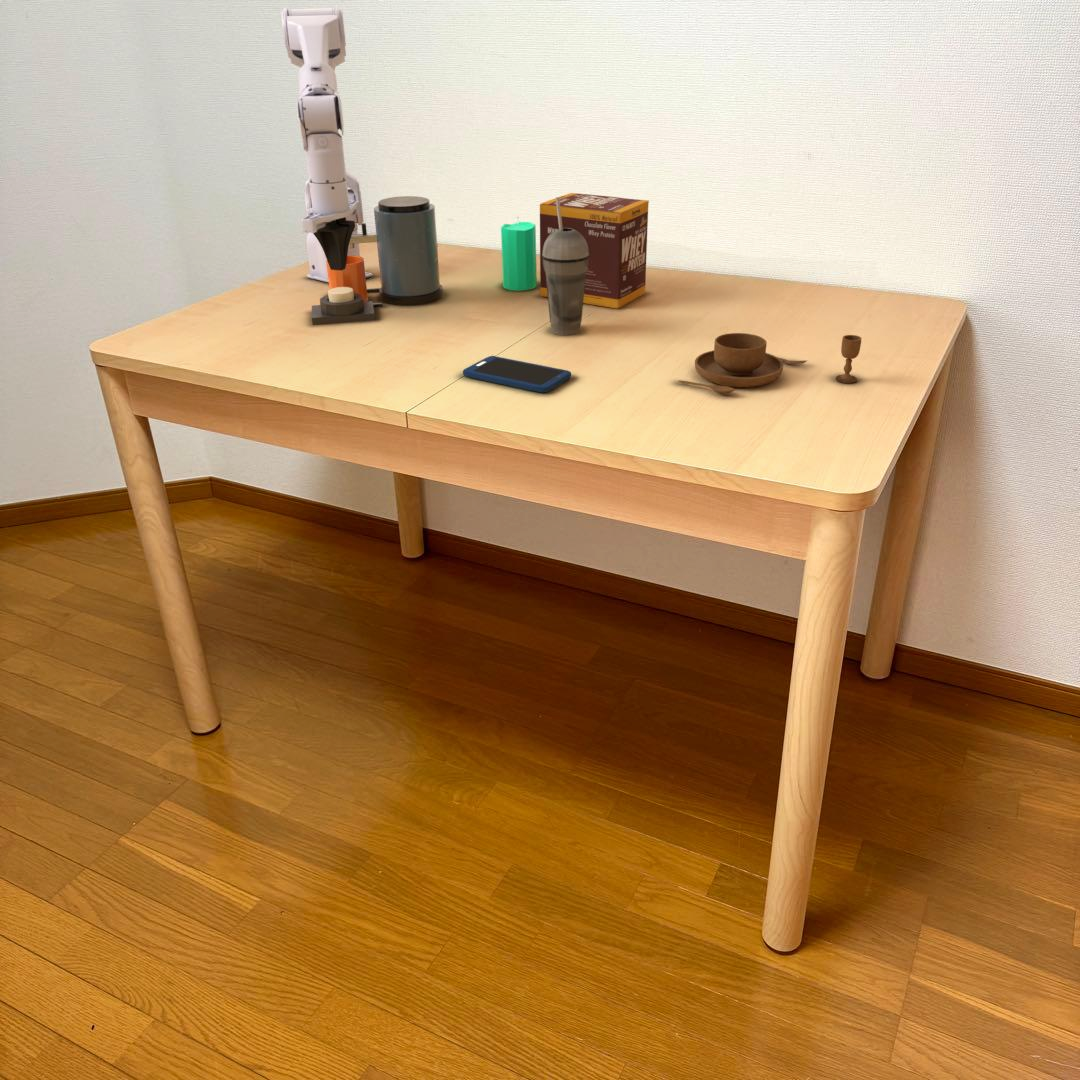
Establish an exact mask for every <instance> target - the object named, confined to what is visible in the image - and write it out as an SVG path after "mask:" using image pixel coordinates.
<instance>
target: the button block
mask: <svg viewBox="0 0 1080 1080" xmlns="http://www.w3.org/2000/svg"><path fill="white" fill-rule="evenodd" d="M373 304H374V301H373V300H371V301H370V300H368V301H367V302H363V296H362V295H360V294H357V293H354V300H353V301H349V302H344V303H334V302H329V295H328V294H325V295H324V296H321V297H320V298H319V304H315V305H311V325H312V326H319V325H333V324H347V323H361V322H373V321H376V313H375V308H374V306H373Z"/></svg>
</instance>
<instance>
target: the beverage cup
mask: <svg viewBox="0 0 1080 1080" xmlns="http://www.w3.org/2000/svg"><path fill="white" fill-rule="evenodd" d="M559 197H560V196H557V197H556V196H555V198H556V205H557V214H558V222H559V229H557V230H555V231H554V232H552V233H551V234H550V235H549V236H548V238H547V239H546V241H545V243H544V247H543V253H542V257H541V258H542V259H543V266H544V271H545V274H546V285H547V295H548V297H547V303H548V314H549V323H550V329H551V331H550V332H551V333H552V334H554V335H558V336H574V335H577V334H579V333H580V332H581V324H582V320H583V318H582V317H583V311H584V309H583V308H584V303H583V299H584V287H585V276H586V271H587V267H588V258H590V255H589V252H588V245H587V242H586V240H585V239H584V237H583V236H582V235H581V234H580V233H579V232H578V231H576V230H574V229H572V228H563V227H562V218H561V210H560V202H559Z"/></svg>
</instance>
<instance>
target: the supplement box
mask: <svg viewBox="0 0 1080 1080" xmlns="http://www.w3.org/2000/svg"><path fill="white" fill-rule="evenodd" d="M558 197H559V202H560V210H561V218H562V227H563V228H572V229H574V230H576V231H578V232H579V233H580V234H581V235H582V236H583V237H584V239H585V240H586V242H587V245H588V252H589V255H590V258H588V267H587V271H586V276H585V287H584V299H583V304H586V305H592V306H599V307H605V308H611V309H620V308H622V307H623V306H625V305H627V304H629V303H630V302H632V301H634V300H636V299H638V298H640V297H641V296H643V295H645V294H646V281H647V280H646V279H647V278H646V277H647V252H648V227H649V226H648V225H649V203H650V200H646V199H637V198H636V199H635V198H628V197H627V198H625V197H617V196H610V195H598V194H587V193H578V192H569V193H566V194H563V195H560V196H558ZM557 229H559V222H558V214H557V205H556V197H555V198H552V199H549V200H546V201H544V202H541V203H539V282H540V283H539V296H541V297H545V298H548V295H547V285H546V274H545V271H544V266H543V259H542V258H541V257H542V253H543V247H544V243H545V241H546V239H547V238H548V236H549V235H550V234H551V233H552V232H554V231H555V230H557Z"/></svg>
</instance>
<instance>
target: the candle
mask: <svg viewBox="0 0 1080 1080" xmlns="http://www.w3.org/2000/svg"><path fill="white" fill-rule="evenodd" d="M517 218H519V216H517ZM536 227H537V226H536V223H533V222H530V221H517V222H514V223H504V224H502V226H500V234H501V235H500V237H501V238H500V239H501V260H502V261H501V264H502V266H501V267H502V286H503V288H504V289H506V290H508V291H516V292H517V291H518V292H519V291H529V290H533V289H535V288H537V286H538V283H537V282H538V281H537V235H536V234H537V233H536Z"/></svg>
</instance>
